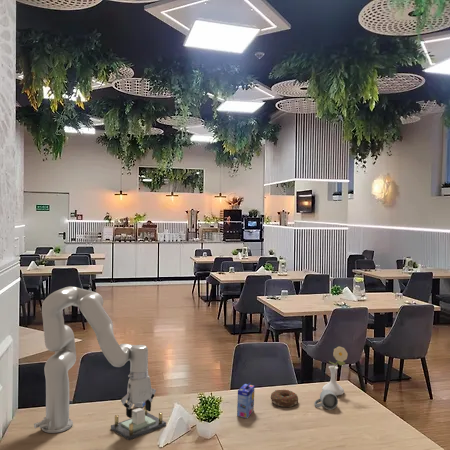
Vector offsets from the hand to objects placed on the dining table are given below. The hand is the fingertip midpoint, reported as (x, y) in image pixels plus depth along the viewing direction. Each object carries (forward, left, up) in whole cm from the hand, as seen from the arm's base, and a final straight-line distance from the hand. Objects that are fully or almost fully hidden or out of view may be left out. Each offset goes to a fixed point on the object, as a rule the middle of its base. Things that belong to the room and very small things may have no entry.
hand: (138, 413), depth 190 cm
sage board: (0, 0, -4) cm, 4 cm away
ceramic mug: (+78, -45, -6) cm, 90 cm away
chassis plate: (0, 0, -6) cm, 6 cm away
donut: (+67, -28, -6) cm, 73 cm away
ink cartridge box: (+44, -23, -6) cm, 50 cm away
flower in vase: (+96, -39, -6) cm, 104 cm away
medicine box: (+15, +20, -6) cm, 26 cm away
